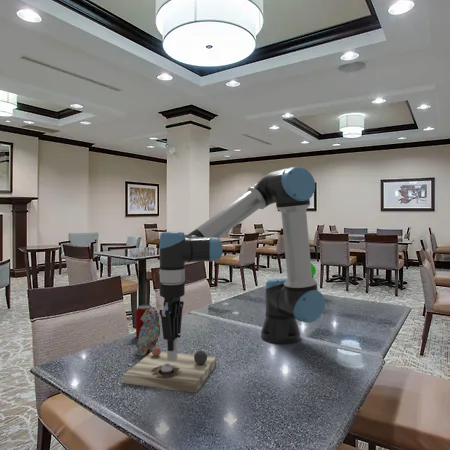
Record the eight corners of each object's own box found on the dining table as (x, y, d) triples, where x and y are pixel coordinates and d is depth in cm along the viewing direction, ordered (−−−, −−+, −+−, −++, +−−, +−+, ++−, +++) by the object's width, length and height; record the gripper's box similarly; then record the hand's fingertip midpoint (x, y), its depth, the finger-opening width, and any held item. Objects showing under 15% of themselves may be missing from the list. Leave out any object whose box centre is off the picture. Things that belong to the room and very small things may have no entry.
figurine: (133, 348, 129) (132, 307, 129) (157, 344, 133) (157, 304, 133) (137, 356, 121) (136, 312, 121) (163, 352, 125) (162, 310, 125)
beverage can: (149, 340, 138) (149, 309, 138) (133, 339, 139) (132, 308, 139) (156, 334, 144) (156, 304, 144) (140, 333, 146) (140, 304, 146)
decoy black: (208, 362, 111) (208, 349, 111) (204, 367, 107) (204, 354, 107) (196, 360, 112) (196, 348, 112) (192, 366, 108) (192, 352, 108)
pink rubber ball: (162, 354, 117) (162, 345, 117) (158, 358, 114) (158, 348, 114) (154, 353, 118) (154, 344, 118) (150, 357, 115) (149, 347, 115)
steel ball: (171, 379, 103) (174, 370, 107) (170, 370, 102) (173, 361, 105) (160, 378, 104) (163, 369, 107) (158, 369, 103) (162, 360, 106)
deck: (153, 357, 121) (153, 350, 120) (216, 364, 115) (216, 357, 115) (123, 383, 102) (123, 374, 102) (196, 392, 96) (195, 383, 96)
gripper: (169, 278, 116) (169, 351, 116) (150, 286, 103) (151, 367, 104) (191, 279, 114) (191, 353, 114) (175, 287, 101) (175, 370, 102)
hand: (172, 359), depth 109 cm, fingers closed
